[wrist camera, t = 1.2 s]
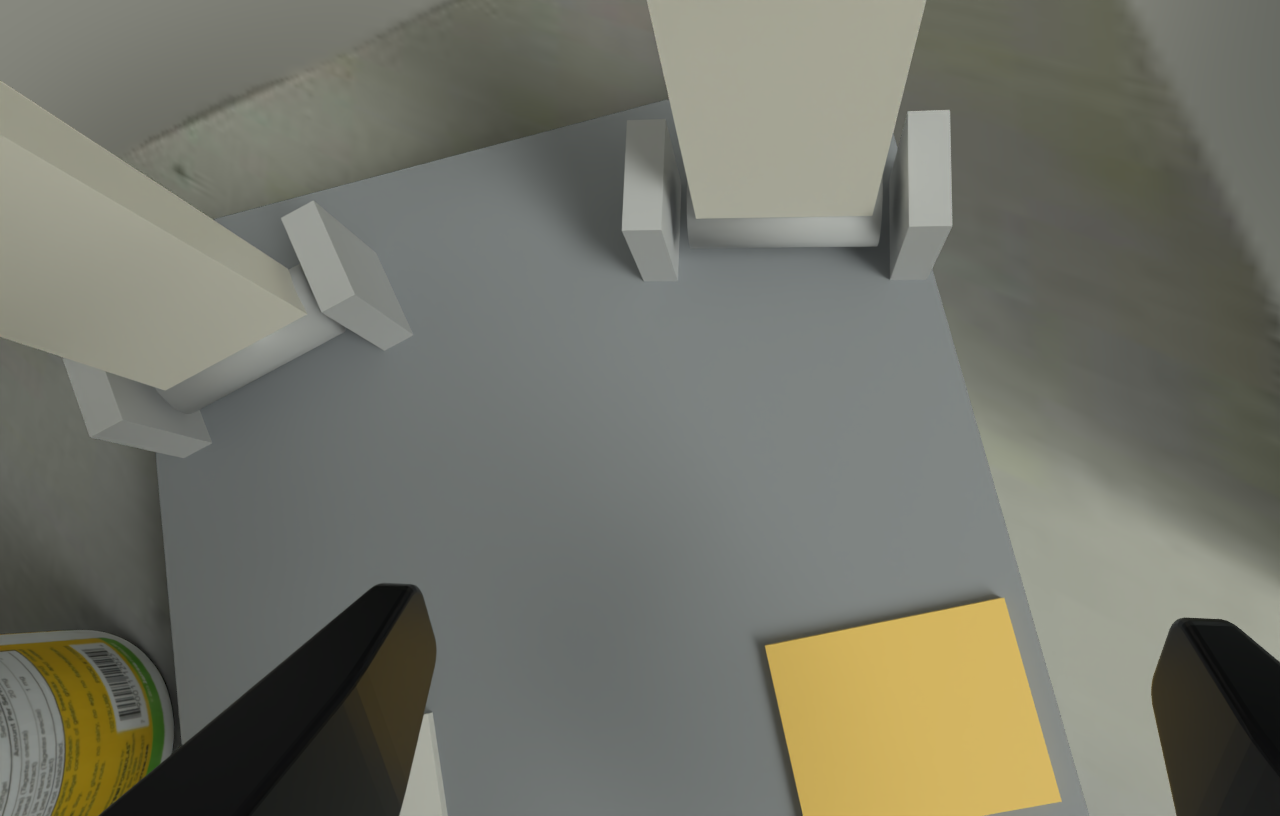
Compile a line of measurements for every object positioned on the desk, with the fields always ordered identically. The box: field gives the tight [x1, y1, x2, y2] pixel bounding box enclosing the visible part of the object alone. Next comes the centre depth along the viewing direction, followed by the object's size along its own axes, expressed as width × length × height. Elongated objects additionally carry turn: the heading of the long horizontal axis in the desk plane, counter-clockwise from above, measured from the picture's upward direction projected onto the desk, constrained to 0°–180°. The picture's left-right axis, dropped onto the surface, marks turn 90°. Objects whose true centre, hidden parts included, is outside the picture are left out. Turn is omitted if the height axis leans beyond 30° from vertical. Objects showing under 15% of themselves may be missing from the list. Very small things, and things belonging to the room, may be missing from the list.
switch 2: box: [647, 0, 926, 249], centre depth 15 cm, size 2×4×12 cm, turn 88°
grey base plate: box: [62, 99, 1089, 816], centre depth 21 cm, size 18×19×5 cm
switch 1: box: [0, 81, 346, 414], centre depth 16 cm, size 2×4×12 cm, turn 116°
